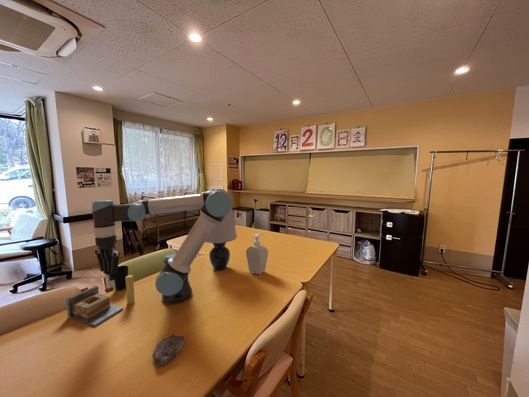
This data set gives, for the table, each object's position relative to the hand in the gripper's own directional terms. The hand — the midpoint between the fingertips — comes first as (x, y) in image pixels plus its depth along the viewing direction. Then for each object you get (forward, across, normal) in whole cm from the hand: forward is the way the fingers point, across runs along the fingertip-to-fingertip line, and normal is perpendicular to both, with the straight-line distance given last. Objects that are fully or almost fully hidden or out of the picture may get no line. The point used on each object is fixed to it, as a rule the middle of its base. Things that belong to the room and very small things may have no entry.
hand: (110, 286), depth 99 cm
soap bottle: (+17, -44, -68) cm, 83 cm away
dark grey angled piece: (+15, +11, 0) cm, 19 cm away
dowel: (+15, +4, -12) cm, 20 cm away
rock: (+16, -38, +7) cm, 42 cm away
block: (+14, +14, 0) cm, 19 cm away
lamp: (+16, -18, -64) cm, 68 cm away
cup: (+15, +22, -21) cm, 34 cm away
